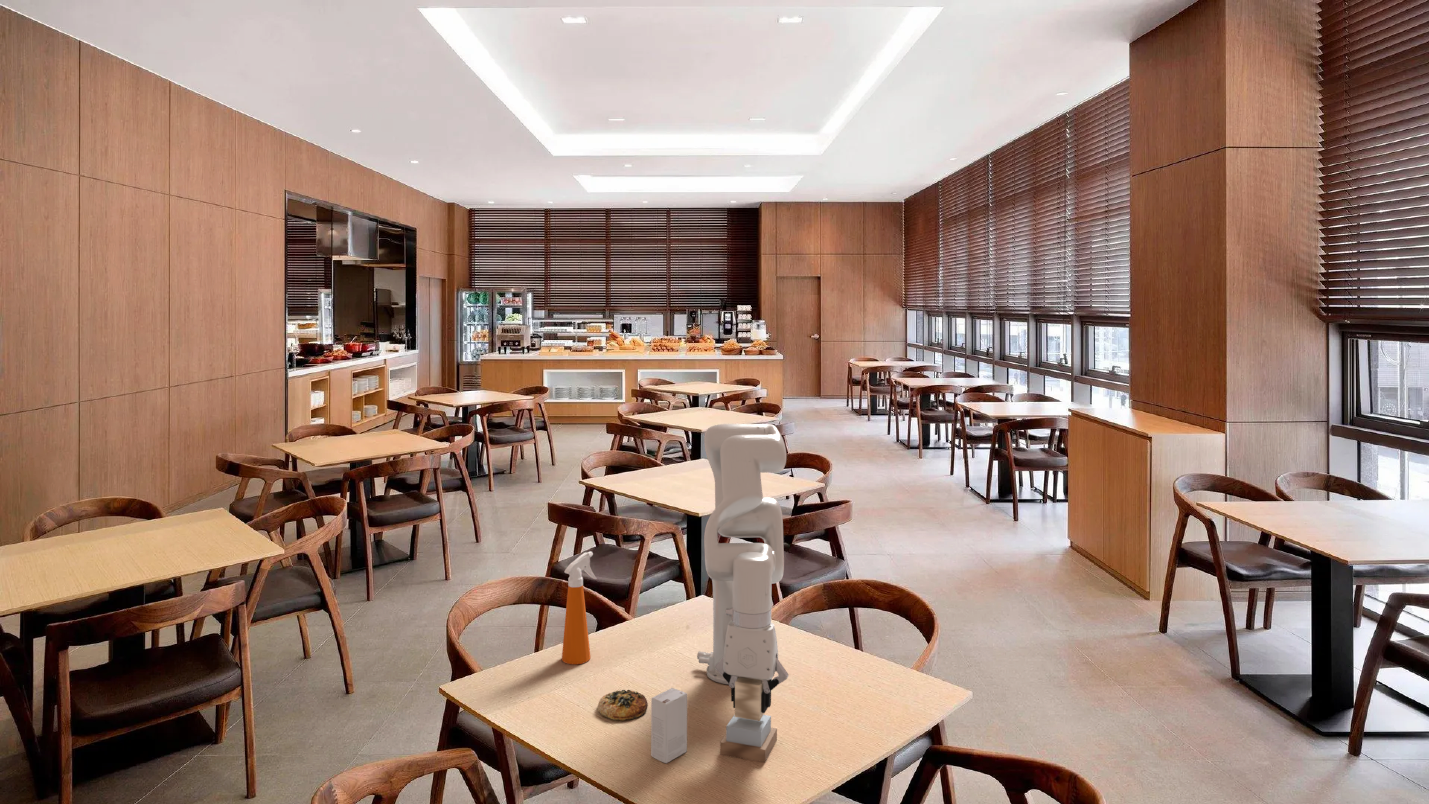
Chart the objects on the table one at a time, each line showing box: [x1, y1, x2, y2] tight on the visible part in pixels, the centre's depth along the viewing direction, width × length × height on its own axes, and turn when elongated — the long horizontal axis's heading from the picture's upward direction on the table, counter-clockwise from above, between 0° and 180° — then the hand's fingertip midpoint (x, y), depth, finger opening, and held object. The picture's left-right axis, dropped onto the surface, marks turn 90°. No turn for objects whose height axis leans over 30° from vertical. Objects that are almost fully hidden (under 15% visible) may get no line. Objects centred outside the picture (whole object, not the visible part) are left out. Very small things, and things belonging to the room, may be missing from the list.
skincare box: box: [650, 687, 688, 764], centre depth 157 cm, size 6×4×12 cm
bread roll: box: [597, 689, 649, 722], centre depth 176 cm, size 11×11×5 cm
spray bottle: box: [561, 551, 598, 666], centre depth 204 cm, size 7×11×26 cm, turn 144°
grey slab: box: [725, 714, 772, 747], centre depth 160 cm, size 7×7×3 cm
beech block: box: [734, 677, 765, 721], centre depth 159 cm, size 5×5×7 cm
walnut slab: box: [719, 727, 778, 763], centre depth 160 cm, size 9×9×3 cm
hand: (750, 706), depth 160 cm, fingers closed on beech block, 5 cm apart
